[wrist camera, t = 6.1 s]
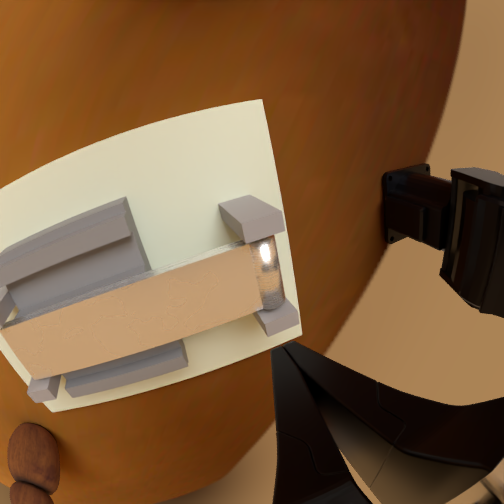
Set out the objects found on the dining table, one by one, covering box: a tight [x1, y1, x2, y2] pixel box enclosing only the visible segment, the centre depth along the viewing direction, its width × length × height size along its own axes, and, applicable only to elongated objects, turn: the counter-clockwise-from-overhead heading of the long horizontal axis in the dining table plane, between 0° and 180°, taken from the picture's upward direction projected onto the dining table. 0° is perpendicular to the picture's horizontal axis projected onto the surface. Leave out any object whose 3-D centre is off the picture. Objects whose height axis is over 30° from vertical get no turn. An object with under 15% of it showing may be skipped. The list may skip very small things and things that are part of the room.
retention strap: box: [0, 235, 286, 380], centre depth 14 cm, size 17×4×2 cm, turn 102°
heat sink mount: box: [0, 99, 302, 412], centre depth 15 cm, size 24×18×6 cm
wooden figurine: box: [8, 423, 60, 504], centre depth 12 cm, size 7×6×15 cm
